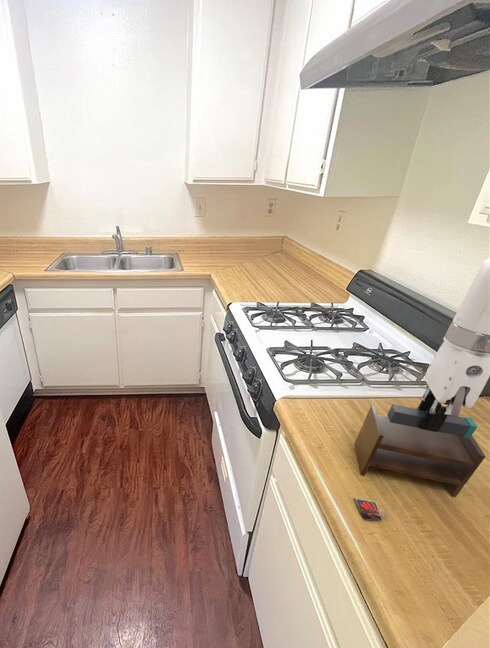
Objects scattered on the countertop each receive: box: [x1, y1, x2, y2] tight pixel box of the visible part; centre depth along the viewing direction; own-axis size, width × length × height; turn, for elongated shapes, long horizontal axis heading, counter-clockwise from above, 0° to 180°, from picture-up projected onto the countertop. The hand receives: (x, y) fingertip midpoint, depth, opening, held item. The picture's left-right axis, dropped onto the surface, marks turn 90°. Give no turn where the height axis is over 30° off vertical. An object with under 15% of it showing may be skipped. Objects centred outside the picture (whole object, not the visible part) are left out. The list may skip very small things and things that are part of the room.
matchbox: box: [353, 497, 387, 522], centre depth 64 cm, size 5×5×1 cm
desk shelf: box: [354, 405, 486, 498], centre depth 70 cm, size 17×10×11 cm, turn 72°
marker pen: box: [386, 404, 478, 438], centre depth 66 cm, size 13×3×3 cm, turn 72°
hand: (425, 423), depth 66 cm, fingers closed on marker pen, 2 cm apart
